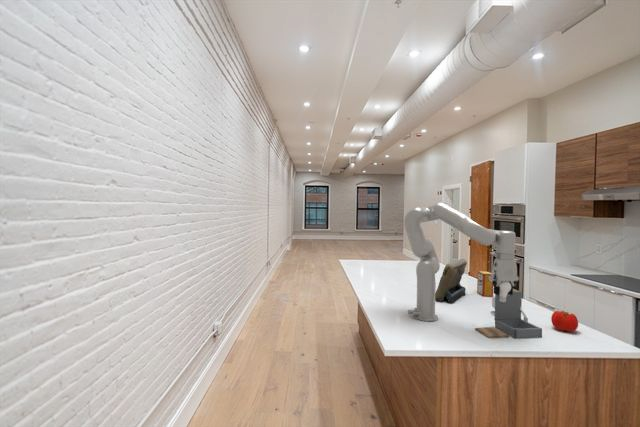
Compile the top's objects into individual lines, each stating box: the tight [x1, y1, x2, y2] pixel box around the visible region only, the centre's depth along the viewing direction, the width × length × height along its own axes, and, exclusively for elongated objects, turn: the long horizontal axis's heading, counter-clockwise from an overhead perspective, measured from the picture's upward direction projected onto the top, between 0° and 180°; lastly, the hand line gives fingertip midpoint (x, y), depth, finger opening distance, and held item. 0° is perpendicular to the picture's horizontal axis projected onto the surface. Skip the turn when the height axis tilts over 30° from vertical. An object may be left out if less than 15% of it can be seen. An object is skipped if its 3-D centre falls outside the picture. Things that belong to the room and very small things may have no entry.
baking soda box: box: [476, 270, 494, 298], centre depth 217 cm, size 10×6×16 cm
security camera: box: [490, 295, 495, 317], centre depth 176 cm, size 6×7×10 cm
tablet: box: [435, 258, 468, 304], centre depth 210 cm, size 33×14×25 cm, turn 145°
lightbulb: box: [499, 281, 511, 303], centre depth 149 cm, size 6×6×11 cm
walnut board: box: [474, 326, 509, 339], centre depth 149 cm, size 10×10×1 cm
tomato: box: [550, 310, 579, 333], centre depth 155 cm, size 11×11×9 cm
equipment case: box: [494, 290, 543, 339], centre depth 151 cm, size 14×14×18 cm
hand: (503, 293), depth 149 cm, fingers closed on lightbulb, 6 cm apart
